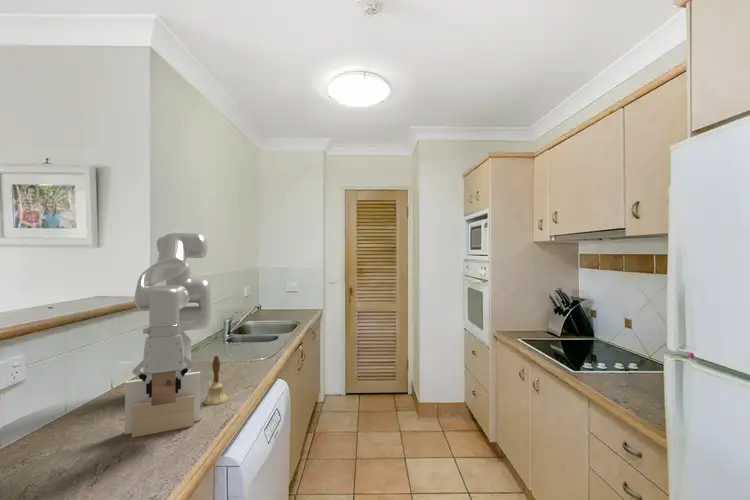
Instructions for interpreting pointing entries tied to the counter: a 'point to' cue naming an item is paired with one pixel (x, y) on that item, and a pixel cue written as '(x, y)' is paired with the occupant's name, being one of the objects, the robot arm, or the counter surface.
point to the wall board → (161, 407)
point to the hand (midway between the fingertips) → (163, 393)
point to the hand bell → (215, 387)
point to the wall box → (163, 388)
